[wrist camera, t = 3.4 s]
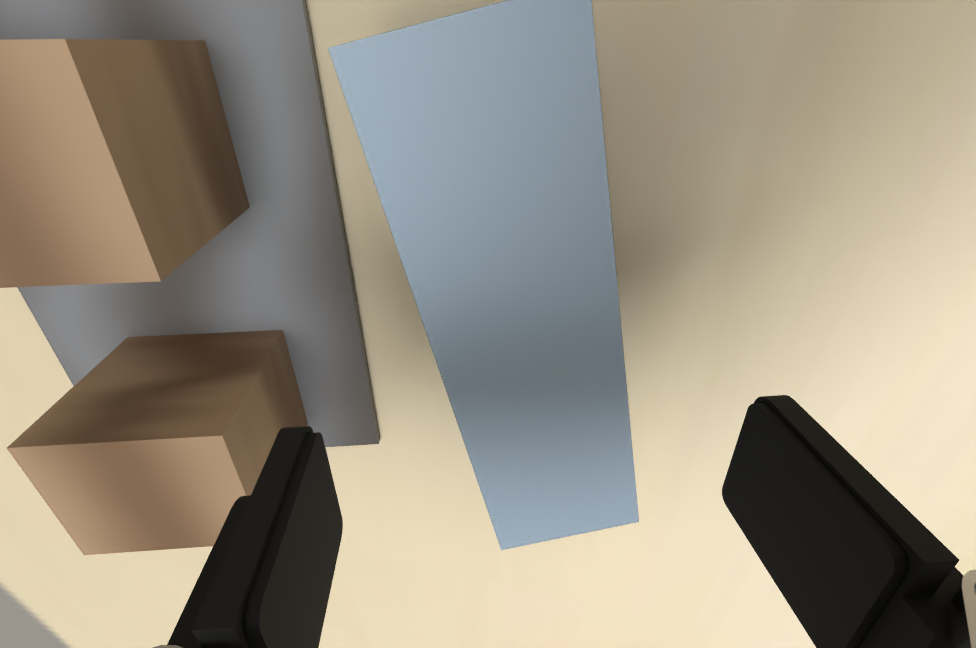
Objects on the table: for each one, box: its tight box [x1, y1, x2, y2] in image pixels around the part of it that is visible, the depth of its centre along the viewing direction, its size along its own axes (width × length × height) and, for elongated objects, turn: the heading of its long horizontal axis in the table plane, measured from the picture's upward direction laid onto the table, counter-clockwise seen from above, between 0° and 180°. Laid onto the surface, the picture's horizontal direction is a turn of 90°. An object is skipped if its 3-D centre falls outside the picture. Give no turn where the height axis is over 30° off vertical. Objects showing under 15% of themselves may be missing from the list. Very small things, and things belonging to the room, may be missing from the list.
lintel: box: [328, 0, 639, 550], centre depth 16 cm, size 5×16×7 cm, turn 13°
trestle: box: [0, 0, 380, 555], centre depth 15 cm, size 12×18×6 cm, turn 1°
